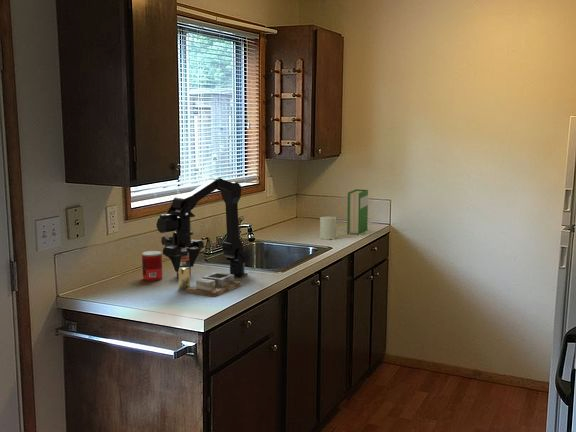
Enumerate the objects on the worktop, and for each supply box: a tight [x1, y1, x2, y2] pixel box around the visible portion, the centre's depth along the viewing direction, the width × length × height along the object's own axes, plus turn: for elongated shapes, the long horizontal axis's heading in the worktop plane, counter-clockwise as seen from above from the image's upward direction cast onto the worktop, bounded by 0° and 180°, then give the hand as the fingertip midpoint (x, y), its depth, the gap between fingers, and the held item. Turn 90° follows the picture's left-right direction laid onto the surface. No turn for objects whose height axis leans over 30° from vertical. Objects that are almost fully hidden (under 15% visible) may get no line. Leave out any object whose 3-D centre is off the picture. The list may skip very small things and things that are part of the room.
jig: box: [185, 271, 242, 298], centre depth 245 cm, size 18×13×4 cm
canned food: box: [141, 250, 163, 282], centre depth 261 cm, size 8×8×11 cm
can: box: [319, 215, 337, 240], centre depth 349 cm, size 9×9×12 cm
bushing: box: [177, 267, 191, 291], centre depth 246 cm, size 4×4×8 cm
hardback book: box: [346, 188, 369, 235], centre depth 367 cm, size 18×7×24 cm, turn 159°
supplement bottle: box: [175, 249, 192, 278], centre depth 264 cm, size 6×6×11 cm
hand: (184, 269), depth 245 cm, fingers open, 9 cm apart
